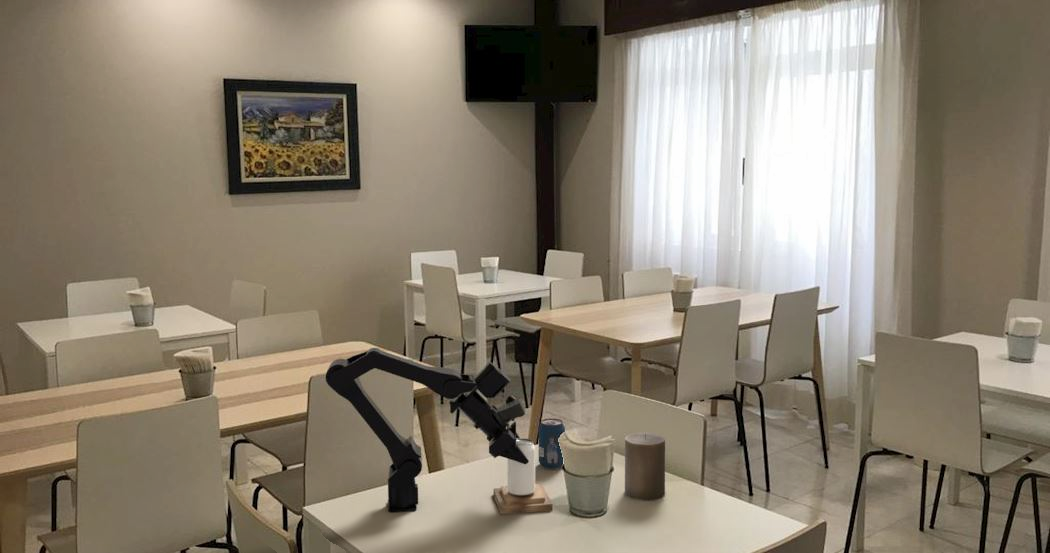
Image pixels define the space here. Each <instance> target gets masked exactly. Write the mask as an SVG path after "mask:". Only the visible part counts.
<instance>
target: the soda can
mask: <svg viewBox="0 0 1050 553" xmlns="http://www.w3.org/2000/svg"><path fill="white" fill-rule="evenodd" d="M563 422H564V421H563V420H561V419H558V418H545V419H541V421H540V425H539V427H538V463H539V465H540V466H541V467H542V468H543V467H544V468H543V469H546V468H547V470H557V469H556V468H558V469H561V468H562V467H563V466H562V465H564V464H563V457H562V453H561V449H560V446H559V442H558V438H559V437H560V435H561V434H562V433H563V432H565V433H566V427H565V425H564V423H563ZM561 466H562V467H561ZM560 467H561V468H560Z"/></svg>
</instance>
